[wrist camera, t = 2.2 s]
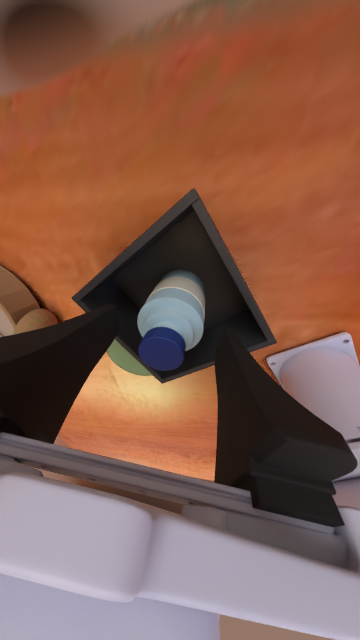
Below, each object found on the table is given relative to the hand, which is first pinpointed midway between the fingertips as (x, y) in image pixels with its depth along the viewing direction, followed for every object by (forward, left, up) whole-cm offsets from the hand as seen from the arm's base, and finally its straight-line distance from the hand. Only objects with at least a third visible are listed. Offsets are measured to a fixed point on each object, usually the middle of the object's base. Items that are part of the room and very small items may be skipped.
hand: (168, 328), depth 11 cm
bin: (0, 0, -6) cm, 7 cm away
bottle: (0, 0, -6) cm, 6 cm away
